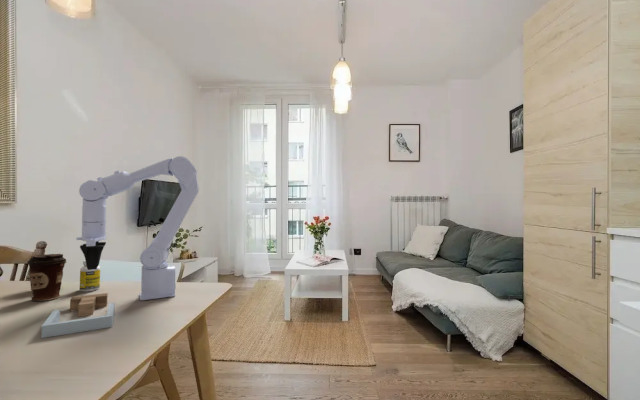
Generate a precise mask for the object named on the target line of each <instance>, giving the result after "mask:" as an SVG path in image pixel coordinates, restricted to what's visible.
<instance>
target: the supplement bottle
mask: <svg viewBox="0 0 640 400" xmlns="http://www.w3.org/2000/svg"><path fill="white" fill-rule="evenodd" d="M82 265H83V266H82V267H81V268H80V271H79V291H80V292H93V291H97V290H99V289H100V286H101V266H100V265H98V267H97V269H92V270H88V269H87V265H86V260H85V259H83V260H82Z"/></svg>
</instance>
